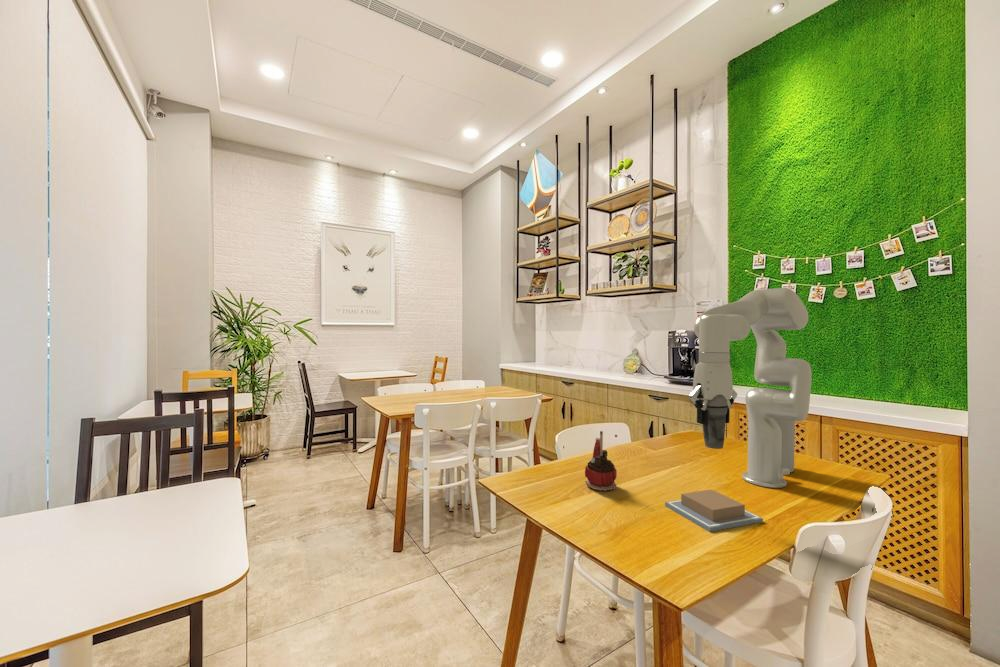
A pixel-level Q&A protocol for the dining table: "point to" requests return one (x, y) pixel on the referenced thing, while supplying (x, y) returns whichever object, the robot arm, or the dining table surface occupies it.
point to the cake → (600, 468)
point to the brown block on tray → (713, 510)
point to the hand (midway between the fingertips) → (713, 422)
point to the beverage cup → (715, 422)
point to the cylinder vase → (787, 443)
